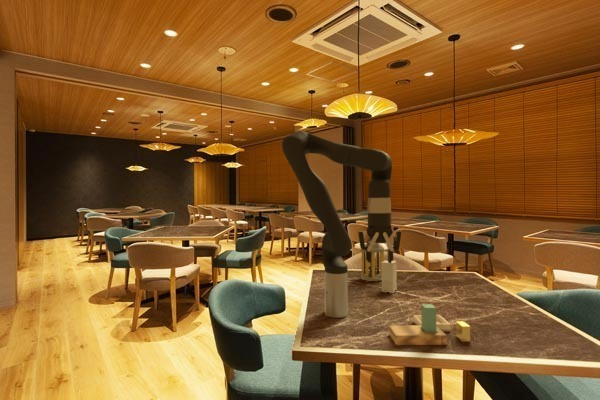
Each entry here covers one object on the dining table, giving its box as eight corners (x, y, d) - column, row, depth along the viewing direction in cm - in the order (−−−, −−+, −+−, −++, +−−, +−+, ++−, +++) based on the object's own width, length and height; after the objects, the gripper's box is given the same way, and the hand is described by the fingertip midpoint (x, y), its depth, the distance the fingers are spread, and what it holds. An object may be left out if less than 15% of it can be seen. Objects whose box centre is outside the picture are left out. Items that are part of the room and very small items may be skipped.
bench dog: (462, 341, 104) (462, 326, 104) (456, 336, 108) (456, 321, 108) (470, 341, 104) (469, 326, 104) (463, 336, 108) (463, 321, 108)
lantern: (356, 277, 190) (355, 234, 190) (377, 275, 195) (376, 233, 194) (368, 283, 177) (367, 237, 177) (390, 280, 181) (390, 236, 181)
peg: (425, 341, 104) (425, 307, 104) (421, 336, 108) (421, 304, 108) (436, 341, 104) (436, 307, 104) (432, 336, 108) (431, 304, 108)
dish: (422, 331, 112) (422, 324, 112) (413, 321, 121) (413, 315, 121) (450, 331, 112) (450, 324, 112) (439, 321, 121) (439, 314, 121)
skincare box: (393, 293, 157) (393, 263, 156) (381, 292, 160) (380, 262, 159) (397, 289, 164) (397, 260, 164) (385, 287, 167) (385, 259, 167)
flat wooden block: (396, 344, 102) (396, 335, 102) (389, 334, 110) (389, 325, 110) (446, 344, 102) (446, 335, 102) (435, 333, 110) (435, 325, 110)
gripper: (359, 212, 102) (359, 265, 102) (404, 211, 102) (405, 264, 102) (355, 211, 110) (355, 260, 110) (397, 211, 110) (398, 260, 110)
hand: (379, 262), depth 106 cm, fingers open, 6 cm apart
